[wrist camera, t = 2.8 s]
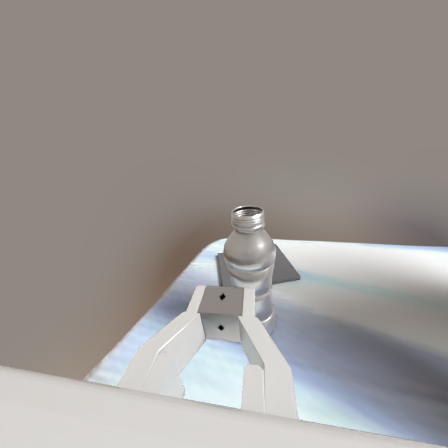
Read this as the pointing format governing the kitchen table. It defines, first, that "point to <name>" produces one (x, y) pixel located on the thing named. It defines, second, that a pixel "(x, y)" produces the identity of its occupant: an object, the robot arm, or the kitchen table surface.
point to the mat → (280, 272)
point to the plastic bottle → (252, 260)
